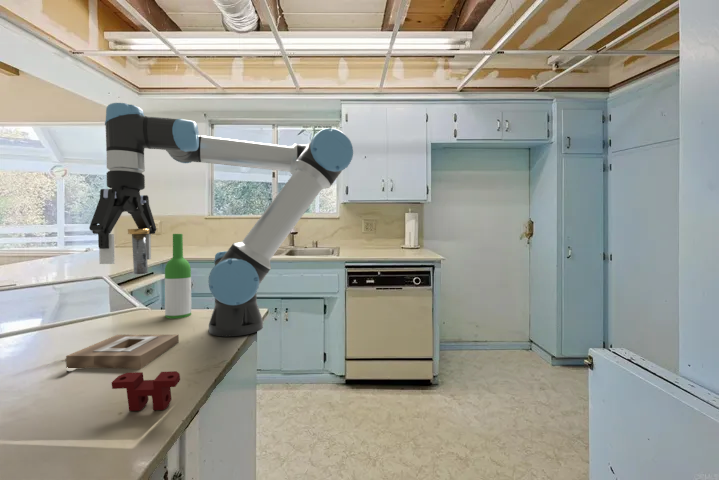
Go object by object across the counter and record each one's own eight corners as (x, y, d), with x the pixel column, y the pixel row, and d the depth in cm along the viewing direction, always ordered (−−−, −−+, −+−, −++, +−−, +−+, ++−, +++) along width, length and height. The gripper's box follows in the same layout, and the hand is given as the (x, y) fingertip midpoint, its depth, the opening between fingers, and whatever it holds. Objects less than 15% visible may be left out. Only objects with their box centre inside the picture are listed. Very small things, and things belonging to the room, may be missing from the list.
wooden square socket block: (178, 347, 91) (178, 333, 91) (140, 371, 75) (140, 354, 75) (117, 348, 91) (117, 333, 91) (66, 372, 75) (66, 355, 75)
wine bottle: (175, 327, 111) (174, 233, 111) (159, 325, 114) (158, 233, 114) (196, 322, 118) (195, 233, 118) (180, 320, 121) (180, 233, 121)
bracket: (121, 372, 60) (181, 371, 61) (125, 402, 61) (184, 400, 62) (111, 382, 57) (174, 380, 58) (115, 413, 58) (177, 411, 59)
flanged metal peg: (137, 271, 90) (135, 228, 90) (155, 271, 91) (153, 228, 90) (125, 274, 86) (123, 229, 85) (144, 274, 86) (142, 229, 85)
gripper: (142, 180, 95) (143, 258, 96) (66, 161, 70) (68, 266, 71) (170, 180, 95) (171, 257, 96) (103, 160, 70) (105, 266, 71)
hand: (127, 261), depth 83 cm, fingers open, 13 cm apart
